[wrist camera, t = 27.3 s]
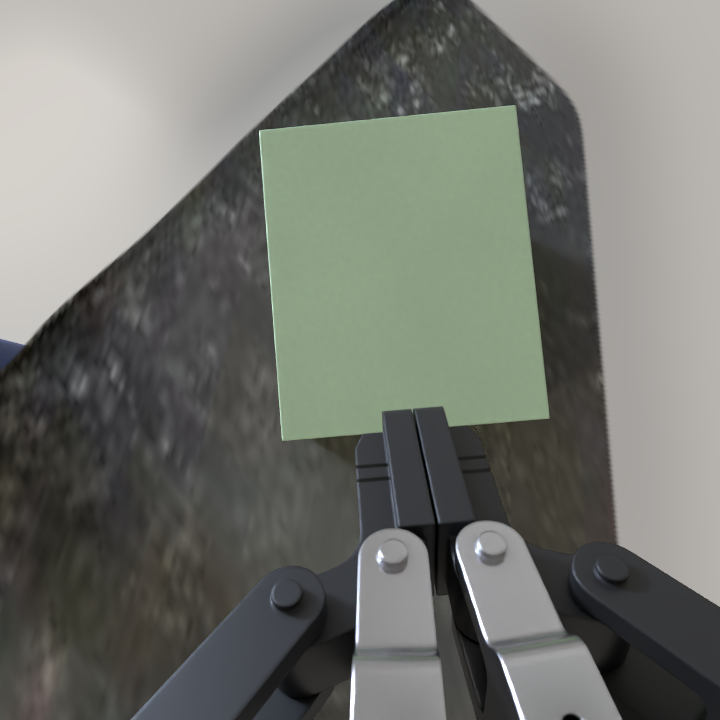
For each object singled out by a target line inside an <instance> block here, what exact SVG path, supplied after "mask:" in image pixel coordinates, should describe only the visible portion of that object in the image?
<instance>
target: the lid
mask: <svg viewBox="0 0 720 720" xmlns="http://www.w3.org/2000/svg"><path fill="white" fill-rule="evenodd" d="M259 137H260V150H261V163H262V177H263V190H264V203H265V217H266V230H267V244H268V257H269V270H270V284H271V297H272V310H273V324H274V337H275V351H276V364H277V377H278V391H279V404H280V417H281V431H282V440H283V441H286V440H298V439H309V438H321V437H333V436H345V435H357V434H366V433H379V432H383V428H382V411H391V410H403V409H411V410H412V414H413V409H414V408H427V407H439V406H443V408H444V411H445V414H446V418H447V421H448V425H449V427H451V426H463V425H477V424H488V423H500V422H512V421H524V420H536V419H548V418H550V416H549V407H548V398H547V388H546V379H545V370H544V361H543V352H542V342H541V333H540V324H539V315H538V306H537V296H536V287H535V278H534V269H533V260H532V250H531V241H530V232H529V223H528V214H527V204H526V195H525V186H524V177H523V168H522V158H521V149H520V140H519V131H518V122H517V112H516V106H515V105H513V106H503V107H493V108H483V109H473V110H463V111H453V112H442V113H432V114H422V115H412V116H402V117H392V118H382V119H371V120H361V121H351V122H341V123H331V124H321V125H311V126H300V127H290V128H280V129H270V130H260V131H259Z"/></svg>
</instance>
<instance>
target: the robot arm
mask: <svg viewBox="0 0 720 720" xmlns="http://www.w3.org/2000/svg"><path fill="white" fill-rule="evenodd" d="M382 428H383V432H379V433H366V434H362V436H361V438H360V440H359V442H358V444H357V446H356V448H355V457H356V472H357V488H358V503H359V519H360V541H359V544H358V547H357V549H356V550H355V552H354V553H353V555H352V556H351V557H350V558H349V559H348V560H347V561H345V562H344V563H343V564H341V565H339V566H337V567H335V568H333V569H331V570H328V571H326V572H323V573H321V574H318V575H316V574H315V573H314V572H312V571H311V570H309V569H307V568H303V567H299V566H287V567H282V568H279V569H276V570H274V571H272V572H270V573H269V574H267V575H266V576H265V577H264V578H262V579H261V580H260V581H259V583H258V584H257V585H256V586H255V587H254V588H253V589H252V590H251V591H250V592H249V593H248V594H247V595H246V596H245V598H244V599H243V600H242V601H241V602H240V603H239V604H238V605H237V606H236V607H235V608H234V609H233V610H232V611H231V613H230V614H229V615H228V616H227V617H226V618H225V619H224V620H223V621H222V622H221V623H220V624H219V625H218V626H217V628H216V629H215V630H214V631H213V632H212V633H211V634H210V635H209V636H208V637H207V638H206V639H205V640H204V642H203V643H202V644H201V645H200V646H199V647H198V648H197V649H196V650H195V651H194V652H193V653H192V654H191V655H190V657H189V658H188V659H187V660H186V661H185V662H184V663H183V664H182V665H181V666H180V667H179V668H178V669H177V670H176V672H175V673H174V674H173V675H172V676H171V677H170V678H169V679H168V680H167V681H166V682H165V683H164V684H163V685H162V687H161V688H160V689H159V690H158V691H157V692H156V693H155V694H154V695H153V696H152V697H151V698H150V699H149V701H148V702H147V703H146V704H145V705H144V706H143V707H142V708H141V709H140V710H139V711H138V712H137V713H136V714H135V716H134V717H133V718H132V719H131V720H313V719H314V717H315V716H316V715H317V713H318V712H319V710H320V709H321V707H322V706H323V704H324V703H325V702H326V700H327V699H328V697H329V696H330V694H331V693H332V691H333V689H334V687H335V685H336V684H338V683H341V682H343V681H345V680H347V679H349V678H351V697H350V720H446V711H445V701H444V690H443V680H442V670H441V662H440V655H439V652H438V650H437V643H436V632H435V621H434V611H433V600H432V596H434V583H435V588H436V594H437V596H440V595H449V599H450V604H451V609H452V632H453V636H454V640H455V643H456V647H457V650H458V654H459V658H460V661H461V665H462V668H463V672H464V675H465V679H466V683H467V686H468V690H469V693H470V697H471V701H472V704H473V708H474V711H475V715H476V719H477V720H720V607H719V606H717V605H716V604H714V603H712V602H711V601H709V600H708V599H706V598H704V597H703V596H701V595H700V594H698V593H696V592H695V591H693V590H692V589H690V588H688V587H687V586H685V585H683V584H682V583H680V582H679V581H677V580H675V579H674V578H672V577H671V576H669V575H668V574H666V573H664V572H663V571H661V570H659V569H658V568H656V567H655V566H653V565H652V564H650V563H648V562H647V561H645V560H643V559H642V558H640V557H639V556H637V555H636V554H634V553H632V552H631V551H629V550H627V549H625V548H623V547H621V546H619V545H616V544H612V543H607V542H592V543H589V544H586V545H584V546H582V547H580V548H579V549H578V550H577V551H576V553H575V554H574V555H569V554H564V553H559V552H554V551H549V550H545V549H541V548H539V547H536V546H534V545H532V544H530V543H528V542H526V541H525V540H523V539H522V537H521V536H520V535H519V534H518V533H517V532H516V531H515V530H514V529H512V527H511V525H510V524H509V521H508V519H507V516H506V513H505V510H504V507H503V504H502V501H501V499H500V496H499V493H498V490H497V487H496V484H495V481H494V478H493V476H492V473H491V472H490V467H489V464H488V461H487V458H486V457H485V452H484V450H483V447H482V444H481V441H480V439H479V438H478V437H477V436H476V435H475V434H474V433H473V431H472V430H471V429H470V428H469V427H468V426H467V425H463V426H451V427H449V425H448V421H447V418H446V414H445V411H444V408H443V406H439V407H427V408H414V409H413V414H412V410H411V409H403V410H391V411H382Z"/></svg>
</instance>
